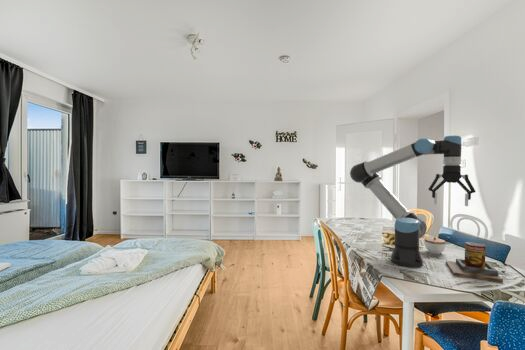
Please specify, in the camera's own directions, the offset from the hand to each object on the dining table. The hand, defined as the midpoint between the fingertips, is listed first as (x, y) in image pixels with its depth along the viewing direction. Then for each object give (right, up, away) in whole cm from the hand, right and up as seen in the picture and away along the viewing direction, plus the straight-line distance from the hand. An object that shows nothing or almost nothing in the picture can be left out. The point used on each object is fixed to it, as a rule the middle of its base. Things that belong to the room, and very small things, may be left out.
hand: (450, 205), depth 139 cm
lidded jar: (+5, -32, +20) cm, 38 cm away
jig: (+3, -32, -11) cm, 34 cm away
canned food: (+5, -30, -10) cm, 32 cm away
